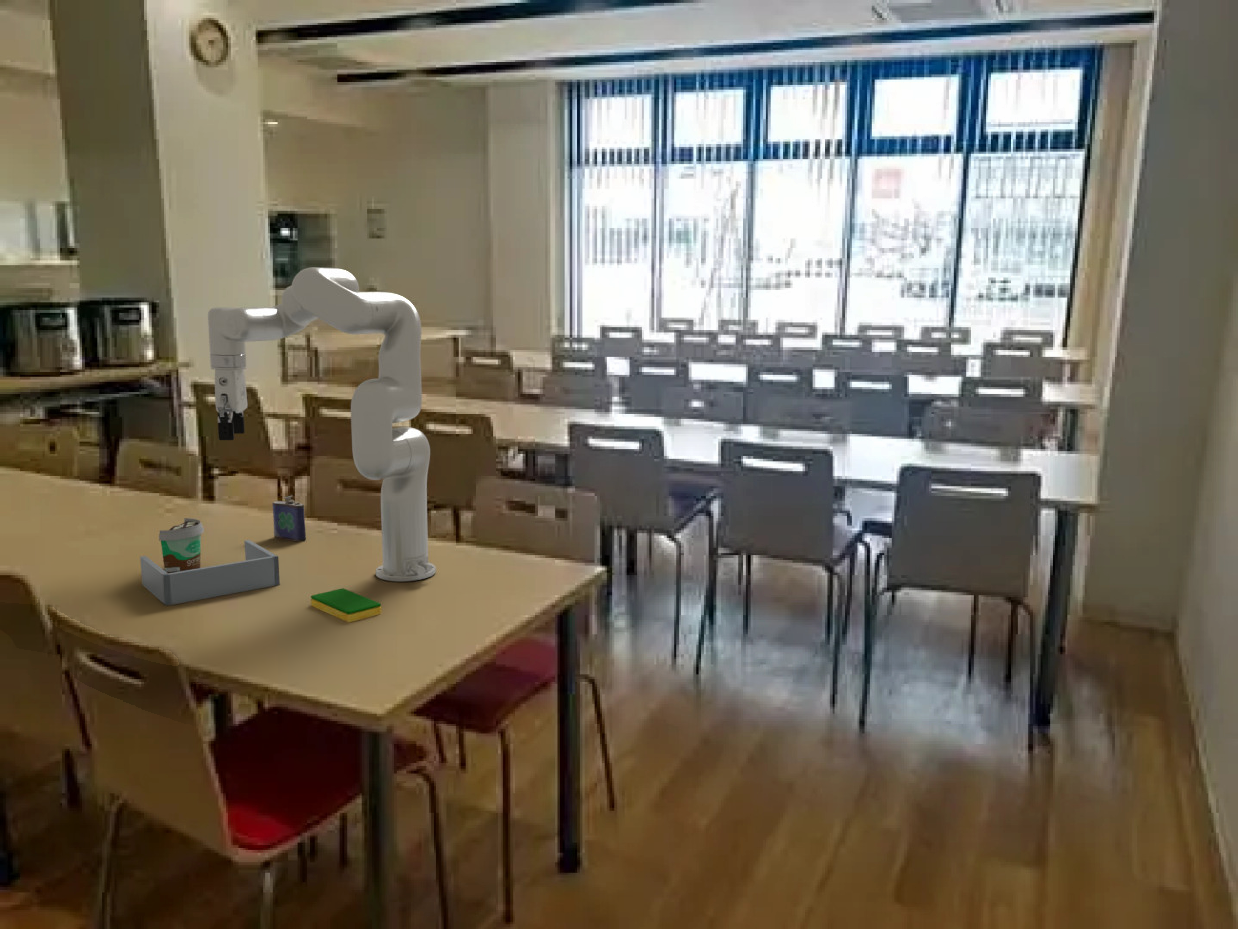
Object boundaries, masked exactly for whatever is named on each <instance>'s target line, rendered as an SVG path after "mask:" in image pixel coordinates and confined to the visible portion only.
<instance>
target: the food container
mask: <svg viewBox="0 0 1238 929" xmlns="http://www.w3.org/2000/svg"><path fill="white" fill-rule="evenodd" d="M204 532H205V530H204V525H203V524H202V522H201V520H199V519H198V518H190V517H188V518H187V517H184V522H183V523H181V524H178V525H173V526H171V528H170V529H168V530H167V529H166V530H163V529H162V530H161V529H160V530H159V534H158V541H160V546H161V553H162V558H163V560H162V562H163V568H164V569H163V570H164V571H166V572H167V573H174V572H180V571H186V570H192V569H198V568H201V555H202V554H201V548H202V547H201V546H202V544H201V542H202V541H201V540H202V534H203V533H204Z"/></svg>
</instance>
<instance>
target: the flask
mask: <svg viewBox="0 0 1238 929" xmlns="http://www.w3.org/2000/svg"><path fill="white" fill-rule="evenodd" d="M292 498H293V495H287V496H284V498H283V499H285V501H281V500H279V501H273V502H272V513H273V514H272V517H273V537H274V538H275V539H278V540H279V539H280V540H283V541H284V540H285V541H294V542H297V541H298V542H299V543H300V542H301V541H303V542H306V541H307V537H306V535H307V533H306V524H305V520H306V519H305V506H304V504H303V503H300V502H299V501H296V502H295V500H294V499H292ZM305 540H306V541H305Z"/></svg>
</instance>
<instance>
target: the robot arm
mask: <svg viewBox="0 0 1238 929" xmlns="http://www.w3.org/2000/svg"><path fill="white" fill-rule="evenodd" d="M318 319H320V320H321V321H323V322H324V323H326V324H327V325H329V326H330V327H333V328H334V329H336V330H338V331H340V332H341V333H344V334H348V335H370V334H382V335H384V338H383V340H382V342H381V344H380V348H379V351H378V358H377V359H378V378H376V377H375V378H371V379H367V380H365V381H363V382H362V383H360V384H359V385H358V386H357V387H356V389H355V390H354V392H353V394H352V397H351V401H350V424H351V426H350V427H351V447H352V448H351V449H352V458H353V461H354V462H353V463H354V465H355V468H356V469H357V471H358V472H359V474H360V475H361V476H362V477H364V478H366V479H369V480H375V481H378V480H382V484H381V490H380V517H381V518H380V520H381V544H382V545H381V546H382V551H381V552H382V564H381V565H378V567H377V568H376V569H375V575H376V577H377V578H378V579H381V580H384V581H387V582H412V581H413V582H414V581H420V580H424V579H428V578H430V577H432V576H433V575H435V574H436V571H437V568H436V566H435V565H434V563H431V562H429V546H428V545H429V542H428V540H429V539H428V534H429V533H428V505H427V504H428V496H427V494H428V488H427V486H428V485H427V484H428V483H427V482H428V473H429V466H430V460H431V459H430V457H431V447H430V443H429V440H428V438H427V436H426V434H424V432H422V431H421V430H420V429H417V428H414V427H410V426H401V427H395V428H393V424H397V423H402V422H406V421H409V420H413V419H415V417H417V416H418V415H419V414H420V412H421V410H422V401H423V399H422V398H423V396H422V394H423V390H422V389H423V388H422V364H421V361H422V360H421V344H422V321H421V317H420V315H419V312H418V310H417V309H416V307H415V306H414V305H413V303H412V302H411V301H410V300H409V299H407V298H406V297H404V296H402V295H399V294H397V293H394V292H388V291H360V286H359V282H358V280H357V279H356V277H355V275H353V274H352V273H351V272H350V271H348V270H345V269H342V268H337V267H315V266H314V267H313V266H311V267H307V268H304V269H301V270H300V271H299V272H298V273H297V274H295V276H294V278H293V279H292V282H291V285H290V286H287V287H286V288H285V289H284V290H283V292H282V295H281V303H279V304H277V305H273V306H251V307H231V306H229V307H223V306H221V307H212V308H210V309H209V310H208V313H207V323H208V326H207V327H208V342H209V344H208V345H209V360H210V369H211V370H214V398H215V399H214V400H215V401H214V402H215V403H214V404H215V410H216V411H217V430H218V432H217V433H218V440H219V441H234V440H235V435H237V434H238V435H239V434H240V435H244V434H245V430H246V429H245V416H244V411H245V410H246V409H247V408H248V398H247V397H248V396H247V394H248V393H247V385H246V384H247V383H246V377H245V369H247V360H246V359H247V357H246V355H247V354H246V353H247V352H246V343H249V342H251V343H252V342H264V341H269V342H270V341H276V340H277V341H278V340H281V339H284V338H287V337H290V336H292V335H295V334H297V333H299V332H301V331H303V330H304V329H306V328H307V327H308V325H309V323H312V322H314V321H317V320H318Z"/></svg>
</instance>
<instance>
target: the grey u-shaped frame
mask: <svg viewBox="0 0 1238 929" xmlns="http://www.w3.org/2000/svg"><path fill="white" fill-rule="evenodd" d="M243 542H244V553H245V554H244V556H245V557H244V558H245V560H241V561H235V562H230V563H221V564H218V565H212V566H206V567H200V568H198V569H192V570H186V571H180V572H174V573H167V572H166V571H165V569H163V568H162V567H160V566H159V565H158V564H157V563H156V562H154V561H153V560H151V559H150V558H149V557H147V556H146V555H142V556H139V558H140V559H139V560H140V569H141V570H140V571H141V573H140V574H141V582H142V583H141V584H142V586H143V587H144V588H146V589H147V590H148V592H150V593H151V594H152V595H154V597H155V598H157V599H158V600H159V601H160V602H161V603H162V604H164V605H165V606H166V607H167V606H172V605H178V604H183V603H189V602H194V601H199V600H200V601H201V600H204V599H211V598H214V597H220V596H227V595H232V594H237V593H241V592H247V591H253V590H258V589H263V588H269V587H274V586H279V585H280V584H281V582H280V566H279V565H280V564H279V563H280V561H279V555H277V554H275V553H273V552H271V551H269V550H268V549H266V548H264V547H262V546H260V545H259V544H257V543H255V542H254V541H252V540H251V539H247V540H246V539H245V540H244V541H243Z"/></svg>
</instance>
